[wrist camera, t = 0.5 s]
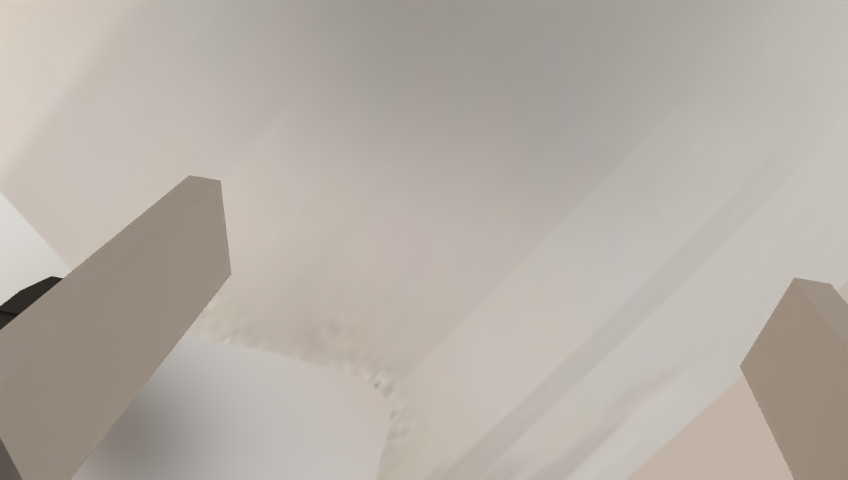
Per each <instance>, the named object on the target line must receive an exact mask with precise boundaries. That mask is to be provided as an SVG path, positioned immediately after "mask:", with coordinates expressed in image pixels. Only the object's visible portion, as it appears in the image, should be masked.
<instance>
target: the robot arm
mask: <svg viewBox="0 0 848 480" xmlns="http://www.w3.org/2000/svg"><path fill="white" fill-rule="evenodd" d="M230 275H231V267H230V259H229V250H228V241H227V233H226V224H225V216H224V207H223V199H222V190H221V181H220V180H214V179H208V178H202V177H196V176H190V175H189V176H188V177H187V178H186V179H184V180H183V181H182V182H181V183H180V184H178V185H177V186H176V187H175V188H173V189H172V190H171V191H170V192H169V193H167V194H166V195H165V196H164V197H162V198H161V199H160V200H159V201H158V202H156V203H155V204H154V205H153V206H151V207H150V208H149V209H148V210H147V211H145V212H144V213H143V214H142V215H140V216H139V217H138V218H137V219H136V220H134V221H133V222H132V223H131V224H129V225H128V226H127V227H126V228H125V229H123V230H122V231H121V232H120V233H118V234H117V235H116V236H115V237H114V238H112V239H111V240H110V241H109V242H107V243H106V244H105V245H104V246H103V247H101V248H100V249H99V250H98V251H96V252H95V253H94V254H93V255H91V256H90V257H89V258H88V259H87V260H85V261H84V262H83V263H82V264H80V265H79V266H78V267H77V268H76V269H74V270H73V271H72V272H71V273H69V274H68V275H67V276H66V277H65V278H58V277H52V276H51V277H49V278H47V279H45V280H42V281H40V282H38V283H36V284H34V285H32V286H29V287H27V288H25V289H23V290H21V291H19V292H18V293H17V294H15V295H14V296H13V297H12V298H11V299H9V300H8V301H7V302H5V303H4V304H3V305H1V306H0V480H70V479H71V478H72V477H73V476H74V474H75V473H76V472H77V470H78V469H79V468H80V467H81V465H82V464H83V463H84V461H85V460H86V459H87V458H88V456H89V455H90V454H91V453H92V451H93V450H94V449H95V447H96V446H97V445H98V444H99V442H100V441H101V440H102V439H103V437H104V436H105V435H106V433H107V432H108V431H109V430H110V428H111V427H112V426H113V424H114V423H115V422H116V421H117V419H118V418H119V417H120V415H121V414H122V413H123V411H124V410H125V409H126V408H127V407H128V405H129V404H130V403H131V401H132V400H133V399H134V398H135V396H136V395H137V394H138V392H139V391H140V390H141V389H142V387H143V386H144V385H145V383H146V382H147V381H148V380H149V378H150V377H151V376H152V375H153V373H154V372H155V371H156V369H157V368H158V367H159V366H160V364H161V363H162V362H163V361H164V359H165V358H166V357H167V355H168V354H169V353H170V352H171V350H172V349H173V348H174V346H175V345H176V344H177V342H178V341H179V340H180V339H181V337H182V336H183V335H184V334H185V332H186V331H187V330H188V329H189V327H190V326H191V325H192V323H193V322H194V321H195V320H196V318H197V317H198V316H199V314H200V313H201V312H202V311H203V309H204V308H205V307H206V306H207V304H208V303H209V302H210V300H211V299H212V298H213V297H214V295H215V294H216V293H217V291H218V290H219V289H220V288H221V286H222V285H223V284H224V283H225V281H226V280H227V279H228V277H229V276H230ZM740 367H741V370H742V372H743V374H744V376H745V378H746V380H747V382H748V384H749V386H750V388H751V390H752V392H753V394H754V396H755V399H756V401H757V403H758V405H759V407H760V408H761V411H762V413H763V415H764V417H765V419H766V421H767V424H768V426H769V428H770V430H771V432H772V434H773V436H774V438H775V440H776V442H777V444H778V446H779V448H780V451H781V452H782V455H783V457H784V459H785V461H786V463H787V465H788V467H789V469H790V471H791V473H792V475H793V478H794V480H848V305H847V303H846V302H845V301H844V300H843V299H842V297H841V296H840V295H839V294H838V292H837V291H836V290H835V289H834V288H833V286H832V285H831V284H828V283H822V282H816V281H810V280H804V279H798V278H794V279H793V281H792V282H791V284H790V286H789V287H788V289H787V291H786V292H785V294H784V295H783V297H782V299H781V300H780V302H779V304H778V305H777V307H776V308H775V310H774V312H773V313H772V315H771V317H770V318H769V320H768V321H767V323H766V325H765V326H764V328H763V330H762V331H761V333H760V334H759V336H758V338H757V339H756V341H755V343H754V344H753V346H752V348H751V349H750V351H749V352H748V354H747V356H746V357H745V359H744V361H743V362H742V364H741V365H740Z"/></svg>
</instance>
